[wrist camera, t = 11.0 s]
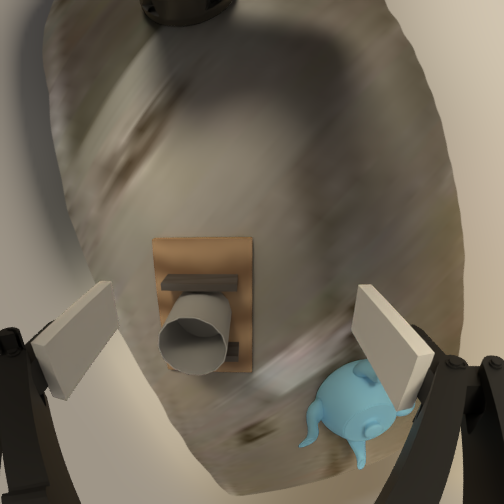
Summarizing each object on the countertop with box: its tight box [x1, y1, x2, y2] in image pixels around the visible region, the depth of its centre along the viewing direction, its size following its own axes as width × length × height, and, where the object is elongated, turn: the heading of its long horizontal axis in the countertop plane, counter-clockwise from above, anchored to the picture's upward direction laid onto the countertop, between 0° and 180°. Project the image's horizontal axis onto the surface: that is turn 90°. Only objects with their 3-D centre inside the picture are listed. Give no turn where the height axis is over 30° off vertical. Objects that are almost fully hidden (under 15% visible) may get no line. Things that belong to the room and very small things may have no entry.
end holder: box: [152, 237, 252, 372], centre depth 41 cm, size 22×14×5 cm, turn 0°
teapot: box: [298, 359, 415, 469], centre depth 42 cm, size 17×19×12 cm
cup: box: [158, 291, 232, 375], centre depth 38 cm, size 8×8×10 cm
